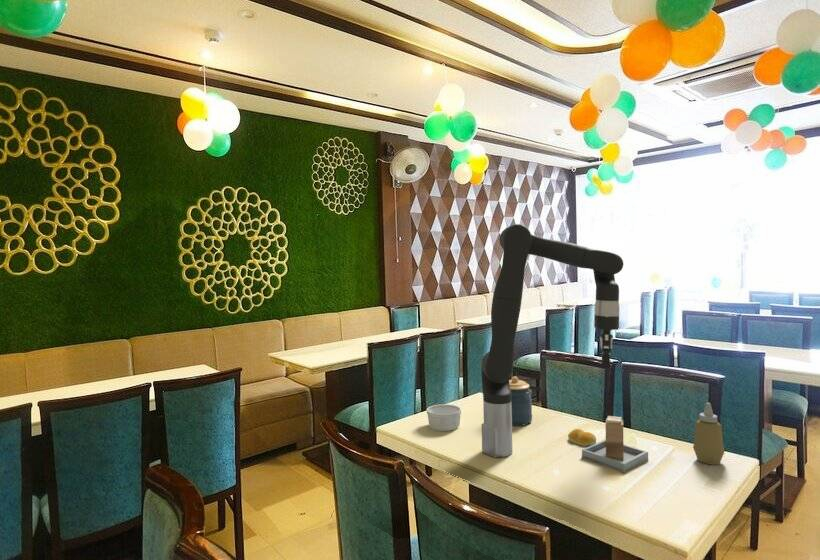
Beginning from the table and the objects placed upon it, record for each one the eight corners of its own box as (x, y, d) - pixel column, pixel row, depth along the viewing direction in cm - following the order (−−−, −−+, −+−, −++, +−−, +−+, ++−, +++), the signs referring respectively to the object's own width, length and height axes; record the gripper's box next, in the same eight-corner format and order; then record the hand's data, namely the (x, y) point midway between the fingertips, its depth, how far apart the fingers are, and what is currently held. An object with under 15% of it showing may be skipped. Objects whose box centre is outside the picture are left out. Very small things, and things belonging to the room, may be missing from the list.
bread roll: (589, 449, 156) (589, 437, 156) (564, 441, 163) (564, 430, 163) (601, 442, 161) (601, 430, 161) (577, 435, 168) (577, 424, 168)
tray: (624, 472, 137) (624, 464, 137) (582, 457, 149) (581, 449, 149) (648, 459, 146) (648, 451, 146) (606, 446, 157) (606, 439, 157)
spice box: (623, 460, 144) (623, 421, 144) (605, 457, 146) (605, 419, 146) (623, 454, 148) (623, 416, 148) (606, 451, 151) (606, 415, 150)
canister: (523, 428, 176) (522, 382, 175) (492, 421, 184) (492, 377, 184) (537, 419, 186) (537, 375, 186) (508, 413, 194) (507, 371, 194)
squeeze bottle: (721, 458, 146) (721, 400, 145) (726, 468, 138) (726, 408, 138) (691, 454, 149) (691, 398, 148) (695, 464, 142) (694, 405, 141)
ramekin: (420, 429, 178) (420, 411, 178) (437, 419, 189) (436, 402, 189) (451, 435, 171) (451, 416, 171) (467, 424, 182) (466, 406, 182)
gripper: (594, 311, 161) (593, 358, 161) (594, 315, 148) (593, 366, 148) (618, 312, 158) (617, 360, 159) (620, 316, 145) (619, 368, 145)
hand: (605, 363), depth 153 cm, fingers open, 8 cm apart
